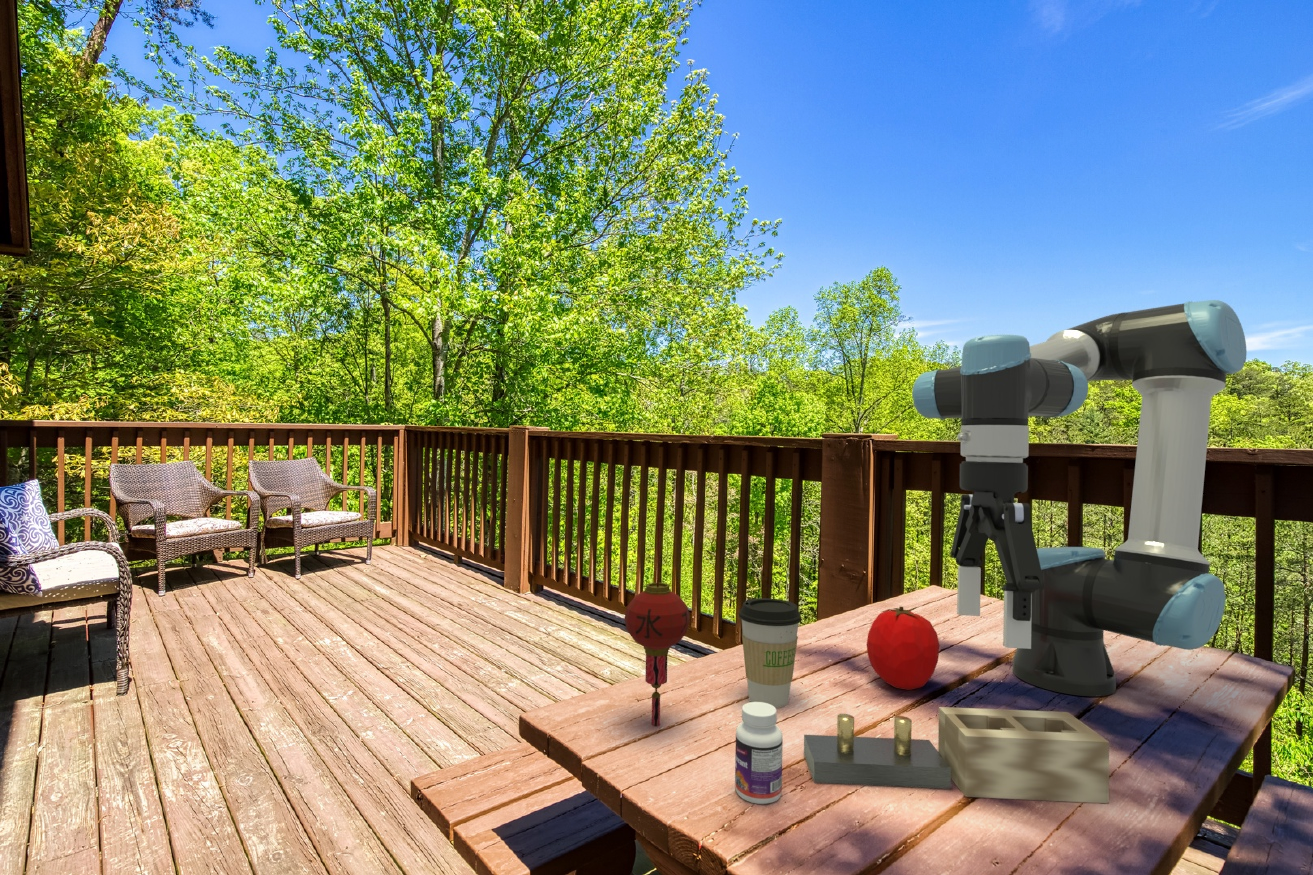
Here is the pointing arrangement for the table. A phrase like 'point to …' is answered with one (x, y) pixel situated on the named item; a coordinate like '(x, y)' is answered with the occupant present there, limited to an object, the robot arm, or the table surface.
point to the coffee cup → (769, 648)
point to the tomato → (903, 648)
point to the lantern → (657, 630)
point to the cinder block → (1024, 755)
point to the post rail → (876, 758)
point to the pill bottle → (758, 754)
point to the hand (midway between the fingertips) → (990, 629)
